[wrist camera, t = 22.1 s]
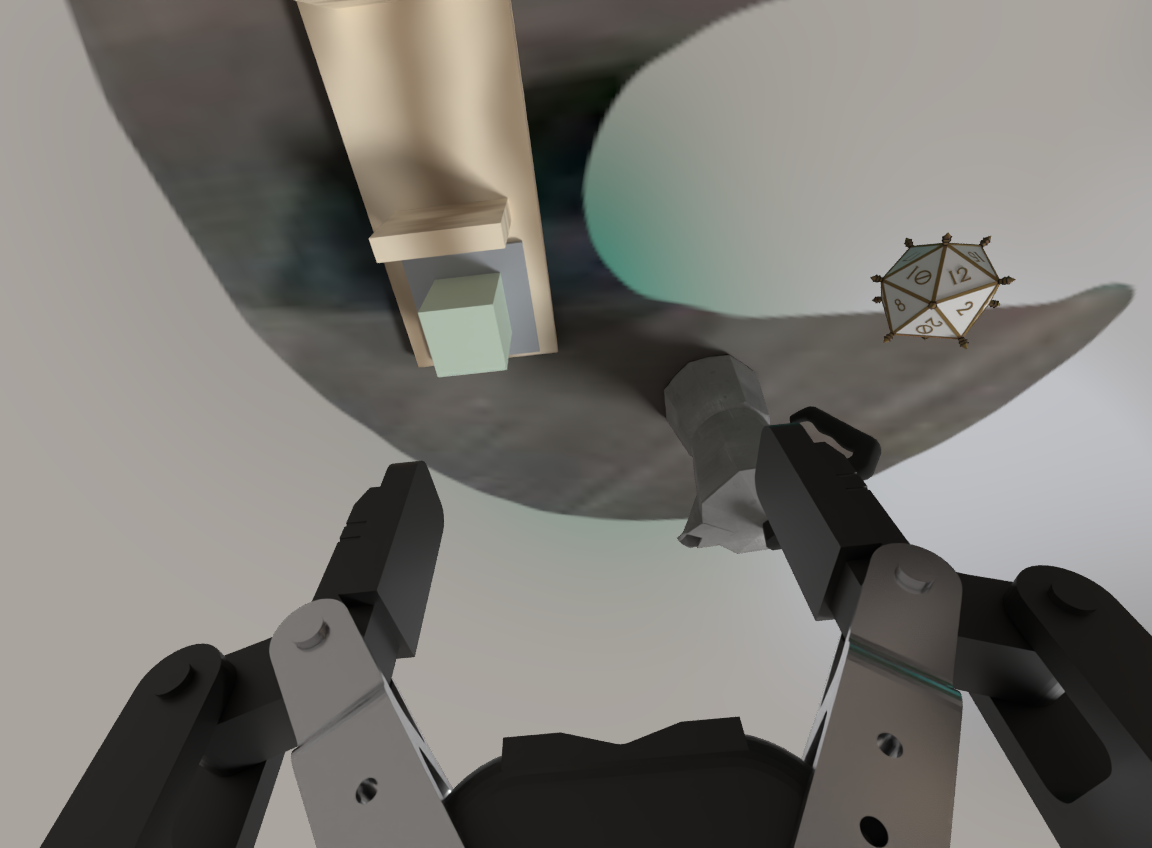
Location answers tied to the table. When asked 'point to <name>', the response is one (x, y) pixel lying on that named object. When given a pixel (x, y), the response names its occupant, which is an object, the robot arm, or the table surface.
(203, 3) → the table surface
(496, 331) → the sage block
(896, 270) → the game die
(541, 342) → the puzzle board
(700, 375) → the coffeepot
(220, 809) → the robot arm
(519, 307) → the slate pad
